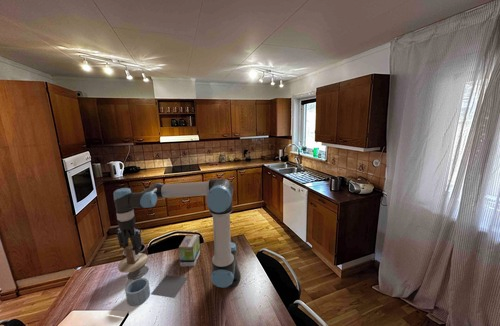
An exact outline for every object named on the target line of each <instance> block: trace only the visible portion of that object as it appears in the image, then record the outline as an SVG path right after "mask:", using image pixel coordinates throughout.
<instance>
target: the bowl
mask: <svg viewBox="0 0 500 326" xmlns="http://www.w3.org/2000/svg"><path fill="white" fill-rule="evenodd" d="M124 292H125V298H126V302H127V304H128V305H129V307H137V306H140V305H142V304H144V303H145V302H146V301H147V300H148V299H149V298H150V295H151V287H150V282H149V280H148V278H145V277H142V278H140V279H136V280H131V281H130V282H129V283H128V285H126V287H125V290H124Z"/></svg>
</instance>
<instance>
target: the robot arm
mask: <svg viewBox="0 0 500 326" xmlns="http://www.w3.org/2000/svg"><path fill="white" fill-rule="evenodd" d="M234 192H235V187H234V185H233V183H232V181H230V180H229V179H226V178H214V179H212V178H211V179H208V180H207V181H198V182H197V181H195V182H193V181H192V182H183V183H182V182H181V183H179V182H178V183H166V184H165V183H161V182H156V183H154V184H151V185H150V186H149V187H147V188H146V189H144V190H143V191H141V192H140V191H139V192H132V190H131V188H129V187H121V188H117V189H116V190H114V191H113V193H112V194H113V202H114V207H115V212H116V220H117V225H118V228H116V230H115V233H116V235H117V239H118V240H117V241H118V244H119V245H118V246H119V247H120V248H122V249H123V251H124V253H125V248H126V247H127V246H128V245H130V244H132V246H133V250H132V251H133V257H134V261H136V260H137V259H138V258H139V248H140V247H141V246H142V244H143V242H142V243H141V240H142V236H141V232H142V230H141V229H138V228H137V227H136V217H135V211H134V208H136V209H138V208H141V209H142V208H144V209H146V208H153V207H155V206H156V204H157V202H158V199H166V198H180V197H182V198H183V197H197V196H198V197H200V196H206V198H205V199H206V200H205V201H206V205H207V207H208V210H209V213H210V214H211V215H212V227H213V228H212V230H213V231H212V232H213V246H214V247H213V249H214V255H213V256H212V258H211V268H212V270H211V273H210V282H211V283H212V284H213V285H214V286H215V287H217V288H223V289H231V288H234V287H235V286H236V287H237V285H238V284H240V281H241V280H242V276H241V275H242V273H241V271H240V269H239V266H238V257H237V256H238V254H237V253H238V252H237V244H236V243H235V242H232V239H231V213H232V212H233V211H234V210H233V196H234ZM129 239H130V242H131V243H129ZM125 254H126V253H125ZM126 260H127V259H126Z"/></svg>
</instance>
